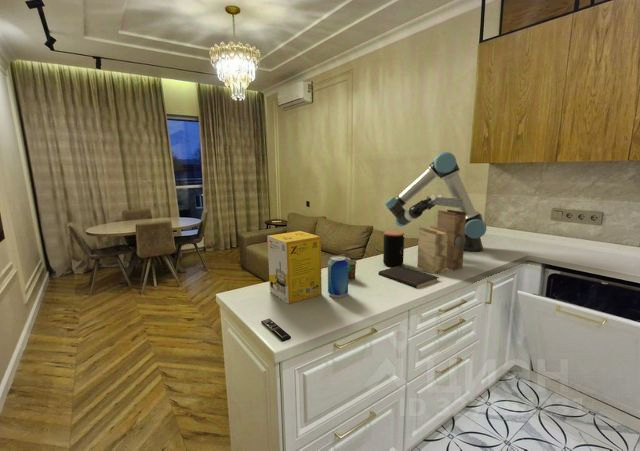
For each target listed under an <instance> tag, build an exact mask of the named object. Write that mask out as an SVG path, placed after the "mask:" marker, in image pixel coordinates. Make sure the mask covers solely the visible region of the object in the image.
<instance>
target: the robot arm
mask: <svg viewBox="0 0 640 451" xmlns="http://www.w3.org/2000/svg"><path fill="white" fill-rule="evenodd" d="M460 171H461V170H460V167H459V164H458V162H457V159H456V156H455V155H454V154H453V153H452V152H449V151H448V152H447V151H444V152H440V153H439V154H437V155H436V156H435V158H434V160H433V161H432V162H431V163H430V164H429V165H428V166H427V169H426V170H425V171H424V172H422V173H421V174H420V175H419V176H418V177H417V178H416V179H415V180H414V181H413V182H412V183H410V184H409V185H408V186H407V187H406V188H404V189H403V191H401V192H400V193H399V194H398V195H397V196H396V197H394V196H391V198H390V199H388V200H387V201H386V202H385V203H384V205H385V206H386V207H387V209H388V210H389V212H391V214H392V215H393V217H395V220H394V221H395V223H396V225H397V226H398V227H405V226H406V225H409V224H410V223H412V222H413V221H415V220H416V219H418V218H419V217H421V216H422V215H423V212H425V211H426V210H428V211H430V210H431V209H432V208H433V207H435V206H436V205H433V204H429V203H431V202H432V201H434V200H435V199H437V197H444V195H443V193H440V194H438V195H437V194H436V193H433V194H432V195H430V196H431V197H429V198H428V199H427V198H426V199H427V200H426V199H424V200H423V199H422V200H419V202H417V203H415V204H413V205H412V206H409V207H408V208H407V210H406V209H405V208H404V206H405V205H406V204H407V203H408V202H410V201H411V200H412V199H413V198H414V197H416V195H417V194H419V193H420V192H421V191H422V190H423V189H424V188H425V187H427V186H428V185H429V184H430V183H432V182H433V181H434V180H435V179H436V178H440V179H441V180H443V181H444V183H445V185H446V188H447V190H448V192H449V194H450V196H451V198H455V199H463V207H460V208H456V211H460V212H466V222H465V244H464V252H481V251H483V249H484V248H483V247H484V245H483V243H482V239H481V238H482V237H483V236H485V235H486V232H487V224H486V223H485V222H484V219H483V214H482V213H480V212H479V211H478V210H476V209H475V206H474V205H473V202H472V200H471V198H470V197H469V194H468V191H467V190H466V187H465V185H464V183H463V180H462V178H461V176H460V174H459V173H460Z"/></svg>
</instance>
